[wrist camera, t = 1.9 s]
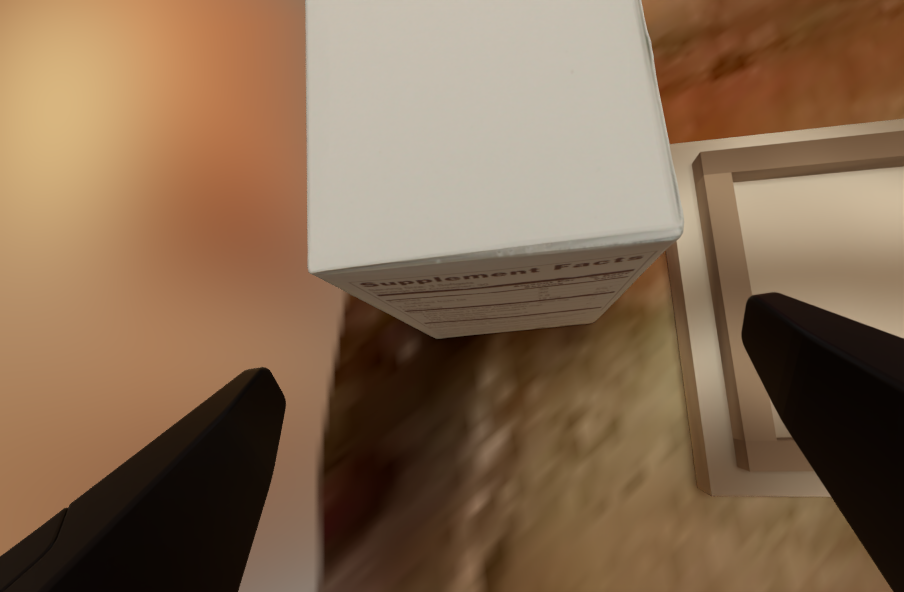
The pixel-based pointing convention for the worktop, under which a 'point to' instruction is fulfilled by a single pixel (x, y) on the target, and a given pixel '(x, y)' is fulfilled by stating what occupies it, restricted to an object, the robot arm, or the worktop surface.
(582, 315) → the supplement box
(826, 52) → the worktop surface
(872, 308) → the display stand
